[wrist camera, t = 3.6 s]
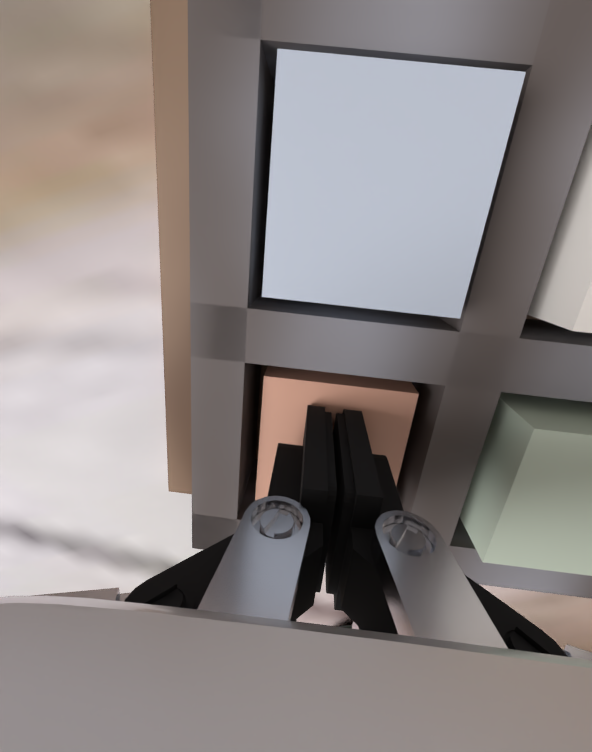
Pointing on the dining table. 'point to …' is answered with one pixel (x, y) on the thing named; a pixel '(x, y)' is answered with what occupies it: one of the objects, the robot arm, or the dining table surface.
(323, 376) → the key terracotta
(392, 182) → the key slate
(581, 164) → the key cream
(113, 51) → the dining table surface
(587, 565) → the key sage
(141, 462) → the dining table surface
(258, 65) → the keypad
